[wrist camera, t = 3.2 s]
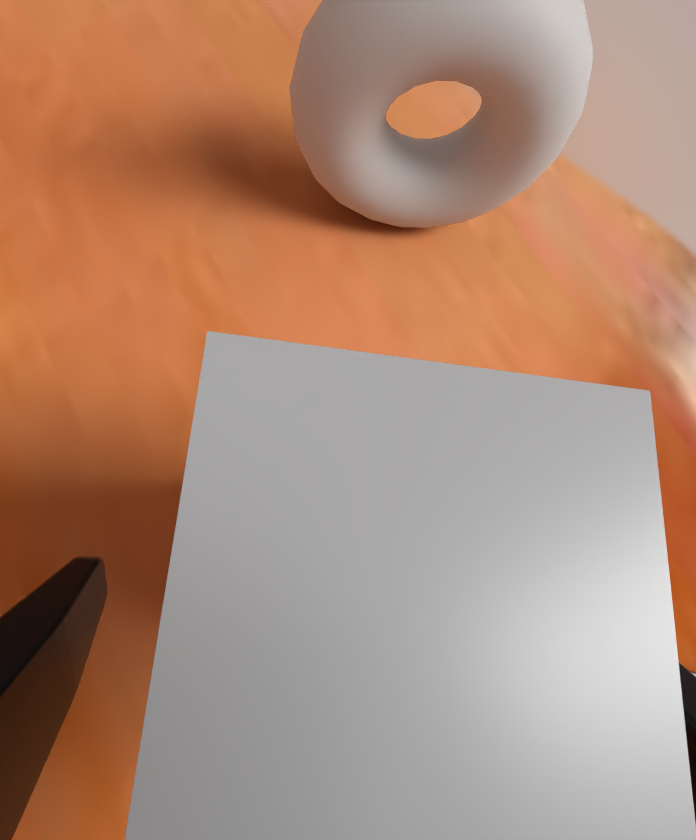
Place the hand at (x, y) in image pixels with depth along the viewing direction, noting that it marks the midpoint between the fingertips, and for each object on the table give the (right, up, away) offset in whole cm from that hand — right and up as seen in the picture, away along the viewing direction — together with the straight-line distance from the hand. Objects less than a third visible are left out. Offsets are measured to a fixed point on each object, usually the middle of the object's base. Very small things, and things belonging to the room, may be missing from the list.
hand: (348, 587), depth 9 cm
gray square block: (-1, -2, +8) cm, 8 cm away
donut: (+2, +13, +12) cm, 18 cm away
